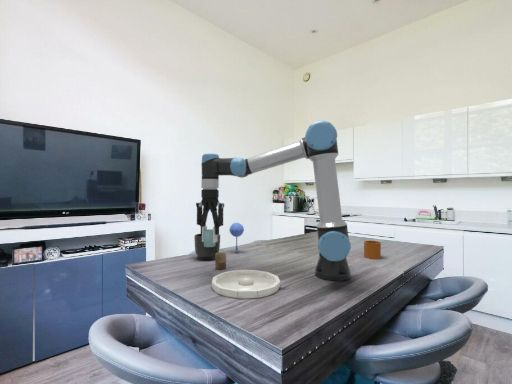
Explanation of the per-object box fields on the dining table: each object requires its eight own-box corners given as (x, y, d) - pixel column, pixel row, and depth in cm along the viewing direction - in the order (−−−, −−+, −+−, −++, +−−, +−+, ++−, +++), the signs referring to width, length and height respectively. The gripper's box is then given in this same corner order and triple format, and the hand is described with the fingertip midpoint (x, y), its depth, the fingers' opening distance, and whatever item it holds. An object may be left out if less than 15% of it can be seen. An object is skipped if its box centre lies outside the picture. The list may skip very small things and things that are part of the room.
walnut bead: (227, 267, 132) (228, 253, 132) (222, 270, 128) (222, 255, 128) (219, 266, 134) (219, 252, 134) (213, 269, 130) (213, 254, 130)
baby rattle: (241, 254, 160) (241, 223, 160) (227, 253, 162) (227, 223, 162) (245, 251, 169) (245, 222, 169) (231, 250, 170) (231, 221, 170)
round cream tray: (288, 281, 113) (288, 273, 113) (262, 303, 90) (262, 294, 90) (233, 272, 125) (233, 265, 125) (198, 290, 101) (198, 282, 101)
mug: (387, 257, 157) (387, 241, 157) (374, 260, 150) (375, 244, 150) (372, 254, 165) (373, 239, 164) (360, 256, 158) (360, 241, 158)
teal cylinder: (217, 245, 123) (217, 229, 123) (211, 247, 118) (211, 231, 118) (208, 244, 125) (208, 229, 125) (201, 246, 120) (201, 230, 120)
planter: (207, 254, 160) (207, 232, 160) (225, 258, 152) (225, 234, 152) (188, 259, 149) (189, 235, 149) (206, 263, 140) (207, 237, 140)
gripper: (232, 189, 121) (231, 241, 121) (198, 189, 128) (197, 238, 128) (223, 188, 114) (222, 244, 114) (188, 188, 122) (187, 241, 122)
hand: (209, 241), depth 121 cm, fingers closed on teal cylinder, 5 cm apart
